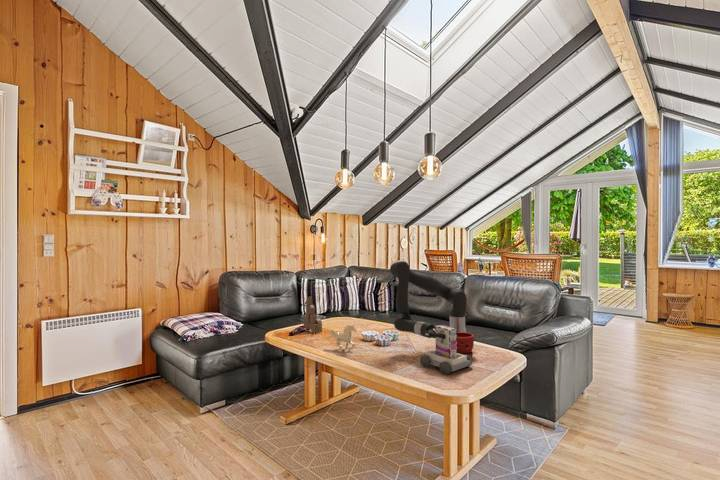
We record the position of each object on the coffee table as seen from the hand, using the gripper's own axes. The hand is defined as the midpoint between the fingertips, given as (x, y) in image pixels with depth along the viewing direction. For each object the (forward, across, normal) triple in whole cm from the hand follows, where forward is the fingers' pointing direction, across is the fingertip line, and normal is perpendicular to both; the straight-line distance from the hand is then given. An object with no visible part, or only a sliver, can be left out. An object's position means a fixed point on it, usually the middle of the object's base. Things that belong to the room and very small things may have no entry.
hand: (449, 335), depth 194 cm
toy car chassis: (-2, 0, +16) cm, 17 cm away
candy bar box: (-2, 0, +13) cm, 13 cm away
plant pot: (-8, +21, +16) cm, 28 cm away
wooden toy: (-109, -15, +17) cm, 112 cm away
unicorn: (-59, -24, +17) cm, 66 cm away
